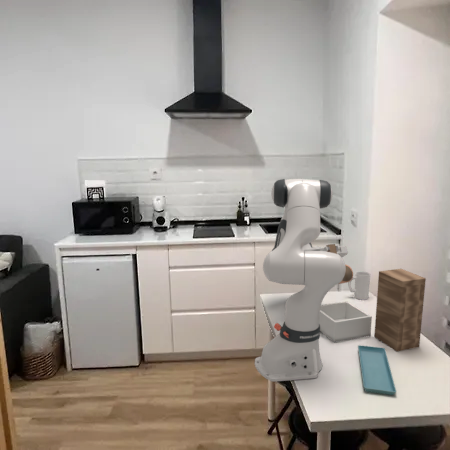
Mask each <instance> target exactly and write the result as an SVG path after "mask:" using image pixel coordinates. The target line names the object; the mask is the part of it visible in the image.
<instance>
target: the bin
mask: <svg viewBox="0 0 450 450" xmlns="http://www.w3.org/2000/svg"><path fill="white" fill-rule="evenodd" d="M372 318H373V317H372V315H370V313H369V314H368V313H367V312H365V311H364V310H362V309H360V308H358V307H357V306H356V305H353V304H352V303H350V302H349V301H339V302H334V303H333V302H332V303H328V304H327V303H326V304H321V308H320V316H319V324H320V331H321V332H320V333H322V334H323V335H324V336H325V335H326V338H328V340H330V341H332V342H333V343H339V342H345V341H350V340H357V339H360V338H361V339H362V338H367V337H368V338H369V337H371V336H372V334H371V330H372V321H373V320H372Z"/></svg>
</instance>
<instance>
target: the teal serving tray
mask: <svg viewBox="0 0 450 450" xmlns="http://www.w3.org/2000/svg"><path fill="white" fill-rule="evenodd" d="M357 348H358V354H359V363H360V370H361V375H362V378H361V379H362V383H363V389H364V391H365V392H366V393H373V394H380V395H381V394H382V395H387V396H394V395H395V394H396V393H397V388H396V384H395V381H394V378H393V373H392V371H391V366H390V363H389V358H388V356H387V352H386V351H387V350H386V348H385V347H378V346H370V345H369V346H367V345H360V344H359V345H357Z"/></svg>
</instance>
